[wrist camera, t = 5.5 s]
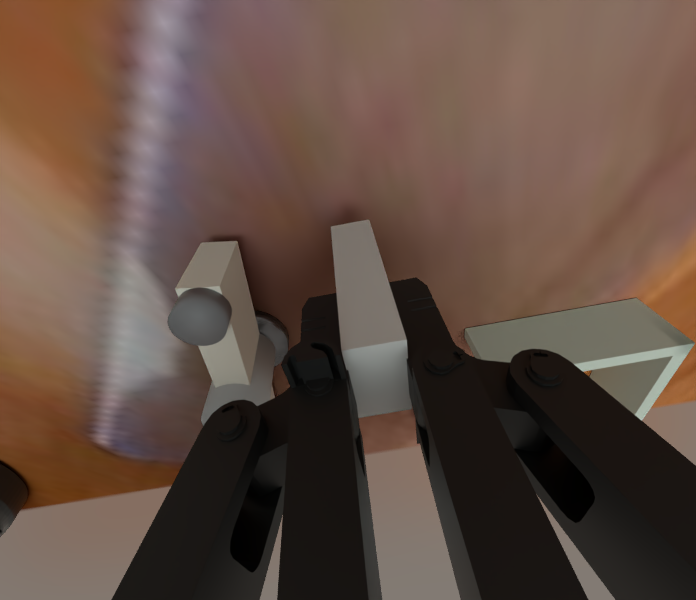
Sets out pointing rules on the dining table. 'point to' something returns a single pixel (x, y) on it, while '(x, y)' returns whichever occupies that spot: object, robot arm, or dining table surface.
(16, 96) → the dining table surface
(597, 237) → the dining table surface
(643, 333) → the box
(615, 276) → the dining table surface
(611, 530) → the robot arm
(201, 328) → the teal-tipped knobbed bar
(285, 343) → the pivot base
